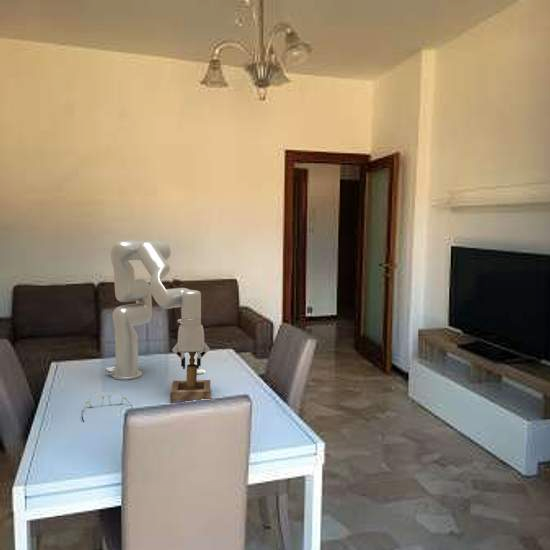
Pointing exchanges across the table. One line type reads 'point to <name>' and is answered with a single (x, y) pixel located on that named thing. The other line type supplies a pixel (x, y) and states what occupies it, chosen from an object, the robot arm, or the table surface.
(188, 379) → the brown flared column
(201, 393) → the walnut holder
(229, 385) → the table surface
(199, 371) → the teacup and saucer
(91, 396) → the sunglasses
